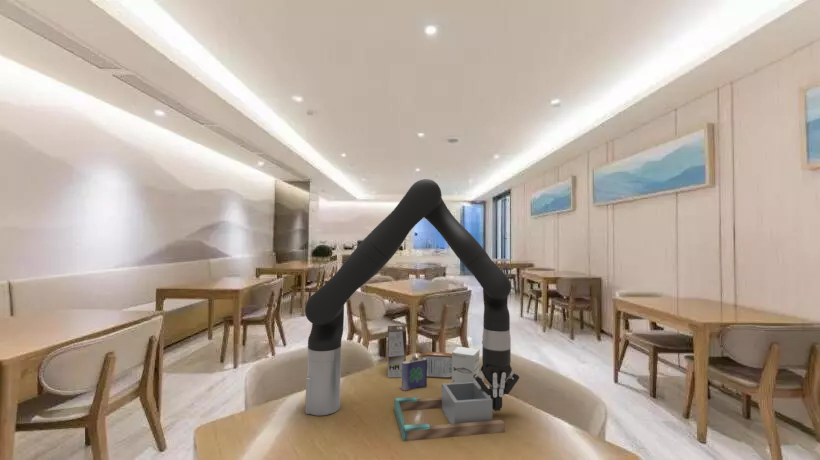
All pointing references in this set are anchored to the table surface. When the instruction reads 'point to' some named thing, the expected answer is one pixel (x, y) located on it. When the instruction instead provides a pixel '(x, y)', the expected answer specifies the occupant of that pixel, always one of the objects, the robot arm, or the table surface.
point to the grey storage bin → (465, 403)
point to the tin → (438, 364)
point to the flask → (414, 373)
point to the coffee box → (396, 350)
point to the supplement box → (465, 364)
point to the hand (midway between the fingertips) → (496, 409)
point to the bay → (438, 430)
